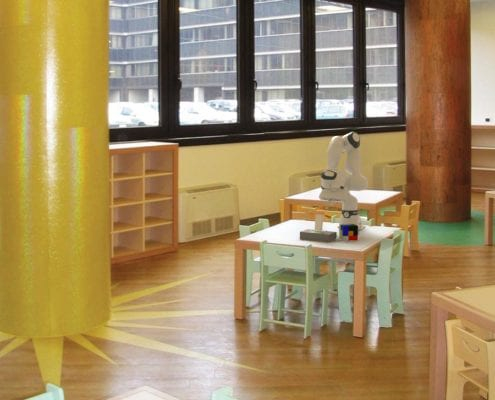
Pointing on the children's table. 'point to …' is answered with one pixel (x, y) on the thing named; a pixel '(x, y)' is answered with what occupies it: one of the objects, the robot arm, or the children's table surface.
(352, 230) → the puzzle toy
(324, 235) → the switch box
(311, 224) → the children's table surface
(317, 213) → the lever
